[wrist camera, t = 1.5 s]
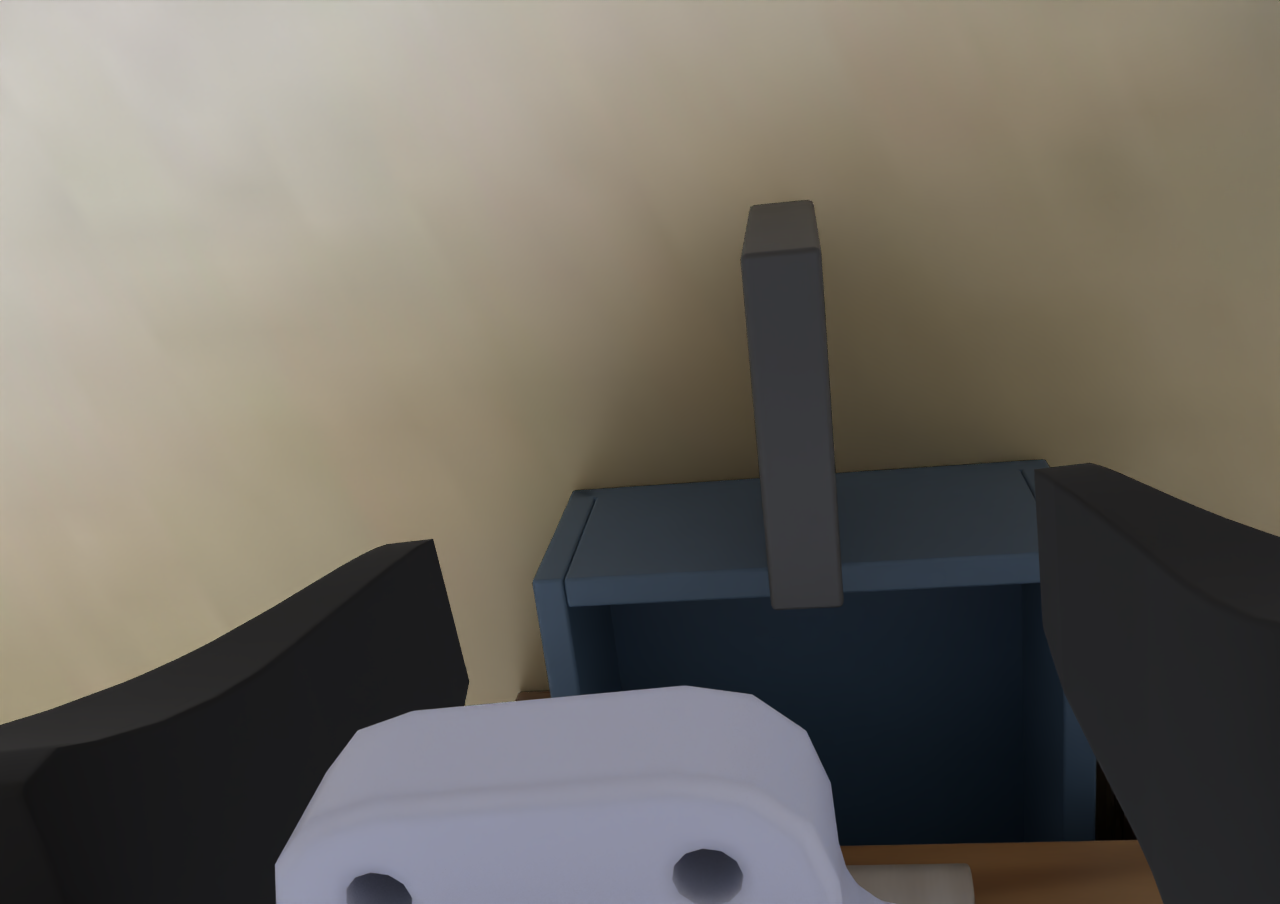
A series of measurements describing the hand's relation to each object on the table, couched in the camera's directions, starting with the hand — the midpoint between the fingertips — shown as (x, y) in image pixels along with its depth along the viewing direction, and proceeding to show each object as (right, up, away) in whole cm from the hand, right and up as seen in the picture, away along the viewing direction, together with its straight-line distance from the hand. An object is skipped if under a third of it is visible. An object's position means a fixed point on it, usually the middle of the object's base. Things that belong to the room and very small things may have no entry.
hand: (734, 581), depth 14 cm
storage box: (+3, -1, +12) cm, 12 cm away
